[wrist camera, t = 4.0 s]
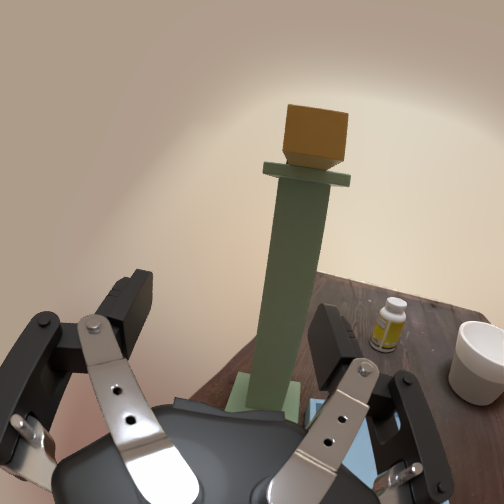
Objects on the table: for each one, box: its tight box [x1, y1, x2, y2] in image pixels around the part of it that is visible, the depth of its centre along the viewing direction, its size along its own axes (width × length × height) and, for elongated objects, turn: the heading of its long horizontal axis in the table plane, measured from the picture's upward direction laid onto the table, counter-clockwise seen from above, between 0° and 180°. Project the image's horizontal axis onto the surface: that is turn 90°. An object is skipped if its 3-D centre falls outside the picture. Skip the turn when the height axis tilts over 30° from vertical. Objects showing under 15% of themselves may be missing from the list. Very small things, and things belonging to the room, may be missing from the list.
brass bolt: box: [282, 104, 348, 170], centre depth 21 cm, size 4×20×3 cm, turn 170°
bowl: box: [449, 321, 504, 406], centre depth 35 cm, size 19×19×11 cm
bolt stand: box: [224, 162, 351, 424], centre depth 30 cm, size 10×12×32 cm
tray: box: [304, 398, 449, 504], centre depth 22 cm, size 18×22×3 cm
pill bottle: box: [370, 297, 407, 352], centre depth 52 cm, size 6×6×11 cm
